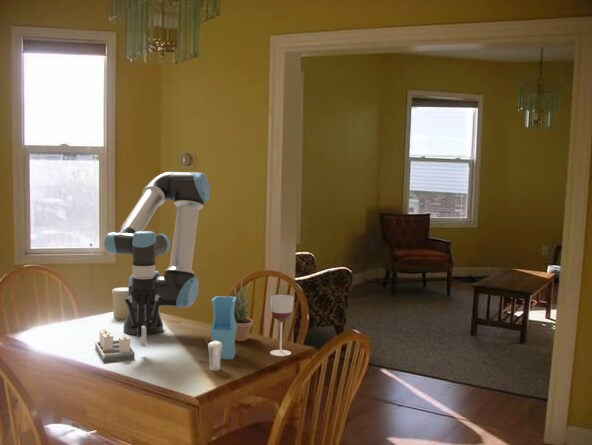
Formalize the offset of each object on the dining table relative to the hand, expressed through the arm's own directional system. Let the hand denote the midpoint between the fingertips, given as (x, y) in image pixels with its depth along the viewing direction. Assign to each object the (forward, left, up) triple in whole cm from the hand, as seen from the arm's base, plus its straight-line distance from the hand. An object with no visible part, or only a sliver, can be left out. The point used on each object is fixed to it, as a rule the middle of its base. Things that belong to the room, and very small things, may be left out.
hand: (143, 345), depth 212 cm
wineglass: (-46, +14, -4) cm, 48 cm away
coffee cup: (-5, -57, -4) cm, 58 cm away
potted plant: (-39, -8, -4) cm, 39 cm away
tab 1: (+11, -10, -2) cm, 15 cm away
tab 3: (+6, 0, -2) cm, 6 cm away
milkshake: (-18, +23, -4) cm, 29 cm away
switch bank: (+8, -5, -3) cm, 11 cm away
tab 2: (+11, -5, -2) cm, 12 cm away
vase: (-26, +10, -4) cm, 27 cm away
